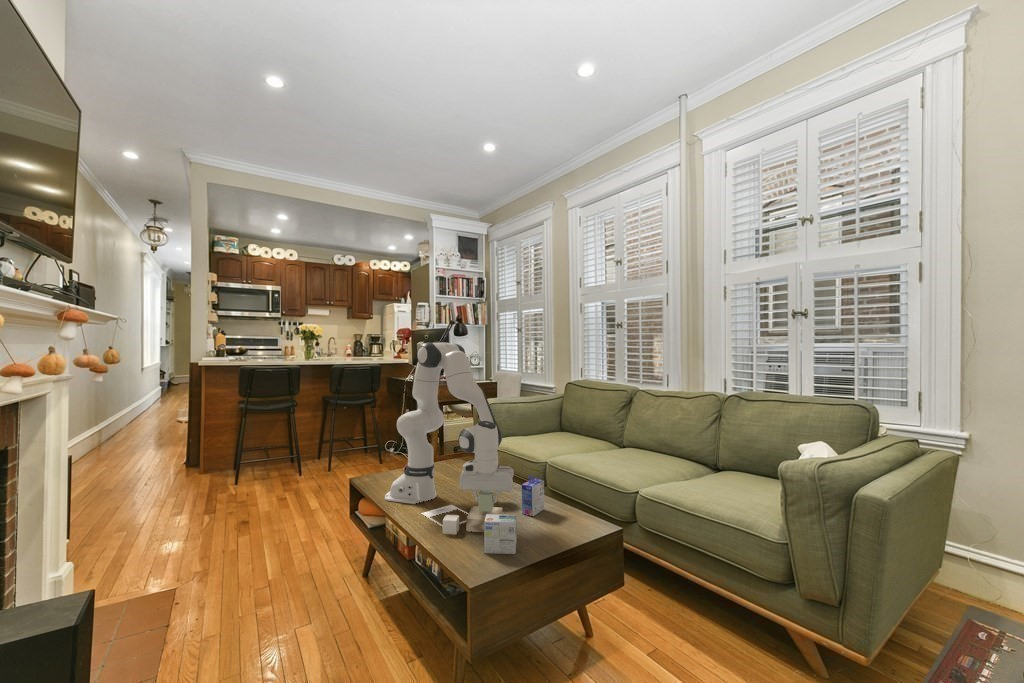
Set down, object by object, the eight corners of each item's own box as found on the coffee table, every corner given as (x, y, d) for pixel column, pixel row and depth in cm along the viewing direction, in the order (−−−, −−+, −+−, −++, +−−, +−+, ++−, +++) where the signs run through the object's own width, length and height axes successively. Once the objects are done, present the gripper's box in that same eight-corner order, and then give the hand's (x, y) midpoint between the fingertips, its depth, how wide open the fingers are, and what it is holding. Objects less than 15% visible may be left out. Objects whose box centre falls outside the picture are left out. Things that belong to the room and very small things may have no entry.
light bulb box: (516, 545, 148) (516, 513, 148) (516, 554, 142) (516, 521, 142) (485, 544, 149) (485, 512, 149) (483, 553, 142) (483, 521, 142)
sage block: (478, 511, 161) (478, 494, 161) (480, 505, 166) (480, 490, 166) (491, 511, 161) (491, 495, 161) (493, 506, 166) (493, 490, 166)
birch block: (466, 532, 159) (466, 518, 159) (472, 518, 171) (472, 506, 171) (498, 533, 158) (498, 520, 158) (502, 520, 170) (502, 507, 170)
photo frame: (451, 504, 184) (477, 517, 170) (451, 506, 184) (477, 520, 170) (421, 512, 174) (445, 527, 161) (421, 515, 174) (445, 530, 161)
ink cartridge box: (533, 506, 183) (533, 472, 184) (544, 509, 180) (545, 474, 180) (520, 514, 175) (521, 478, 175) (532, 517, 172) (533, 480, 172)
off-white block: (442, 533, 157) (442, 520, 157) (445, 528, 162) (446, 514, 162) (456, 534, 156) (456, 520, 156) (459, 528, 161) (459, 515, 161)
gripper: (514, 463, 166) (514, 500, 166) (462, 461, 168) (461, 497, 168) (512, 468, 160) (512, 506, 159) (458, 466, 162) (458, 503, 162)
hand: (486, 501), depth 164 cm, fingers closed on sage block, 5 cm apart
